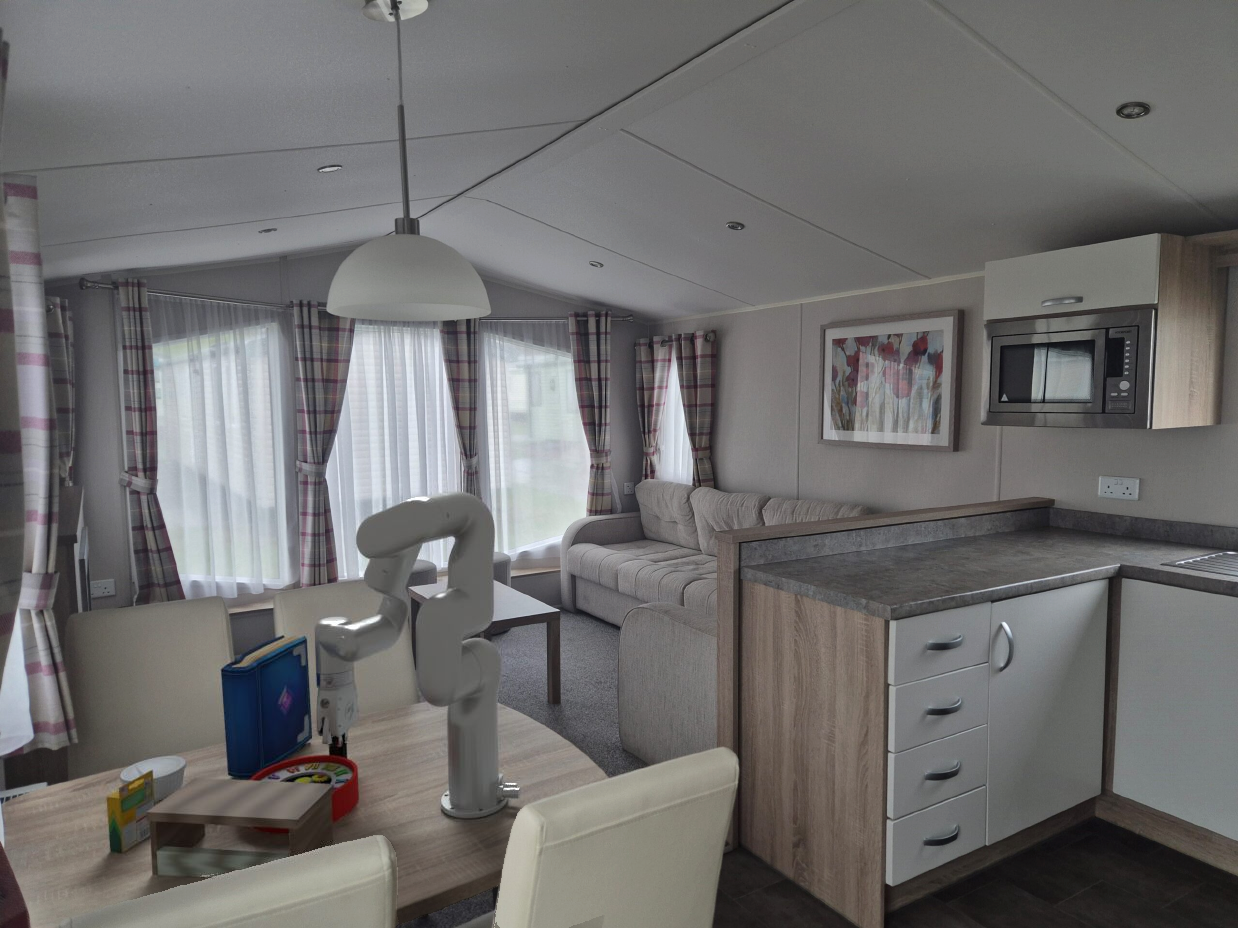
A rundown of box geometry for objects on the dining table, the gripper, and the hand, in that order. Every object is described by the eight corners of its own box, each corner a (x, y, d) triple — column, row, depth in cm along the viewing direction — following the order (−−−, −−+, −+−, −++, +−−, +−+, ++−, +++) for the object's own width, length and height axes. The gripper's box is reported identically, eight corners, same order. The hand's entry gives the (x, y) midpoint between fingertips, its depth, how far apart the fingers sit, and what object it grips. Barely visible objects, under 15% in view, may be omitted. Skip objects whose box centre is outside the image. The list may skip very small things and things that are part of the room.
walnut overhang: (335, 842, 136) (333, 783, 136) (300, 883, 124) (297, 819, 124) (197, 834, 139) (194, 777, 139) (149, 874, 127) (146, 811, 127)
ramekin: (107, 804, 151) (105, 777, 151) (153, 778, 162) (152, 753, 162) (155, 809, 149) (154, 782, 148) (199, 783, 159) (198, 757, 159)
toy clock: (339, 746, 163) (372, 781, 147) (340, 773, 163) (373, 811, 147) (235, 773, 151) (258, 814, 135) (236, 802, 151) (259, 847, 135)
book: (251, 784, 158) (246, 664, 157) (221, 782, 160) (215, 662, 158) (313, 741, 179) (309, 634, 178) (286, 739, 181) (282, 633, 179)
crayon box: (143, 829, 141) (140, 767, 141) (157, 831, 141) (154, 768, 140) (108, 851, 134) (105, 786, 133) (122, 853, 133) (119, 787, 133)
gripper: (335, 689, 156) (338, 779, 157) (368, 666, 170) (370, 747, 172) (299, 688, 157) (303, 777, 158) (335, 665, 171) (338, 746, 172)
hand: (338, 761), depth 165 cm, fingers closed
